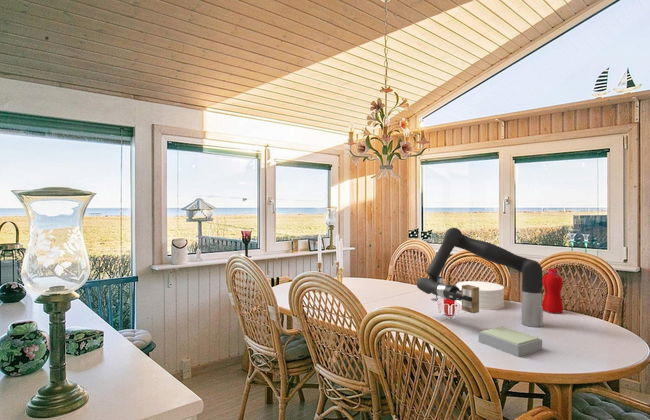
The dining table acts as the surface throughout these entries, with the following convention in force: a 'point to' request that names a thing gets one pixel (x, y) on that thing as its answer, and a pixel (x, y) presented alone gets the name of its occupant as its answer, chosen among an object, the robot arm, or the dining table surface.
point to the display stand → (510, 341)
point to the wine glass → (440, 280)
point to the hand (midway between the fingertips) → (474, 298)
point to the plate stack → (486, 294)
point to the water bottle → (552, 292)
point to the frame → (474, 293)
